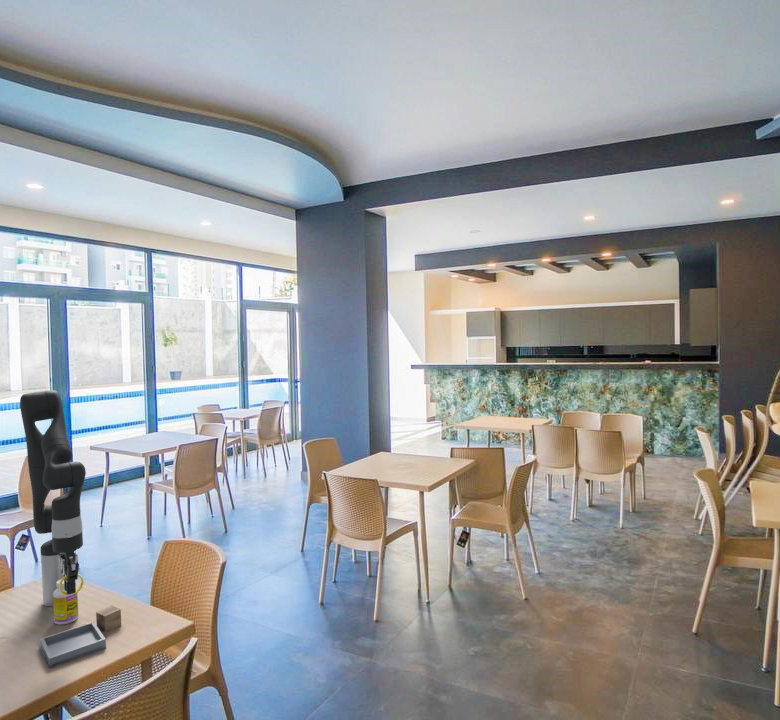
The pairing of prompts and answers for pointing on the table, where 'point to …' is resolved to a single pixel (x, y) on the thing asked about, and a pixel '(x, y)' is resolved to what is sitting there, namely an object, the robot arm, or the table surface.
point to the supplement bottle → (64, 606)
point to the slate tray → (72, 644)
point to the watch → (76, 590)
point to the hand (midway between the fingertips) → (70, 591)
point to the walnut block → (108, 618)
